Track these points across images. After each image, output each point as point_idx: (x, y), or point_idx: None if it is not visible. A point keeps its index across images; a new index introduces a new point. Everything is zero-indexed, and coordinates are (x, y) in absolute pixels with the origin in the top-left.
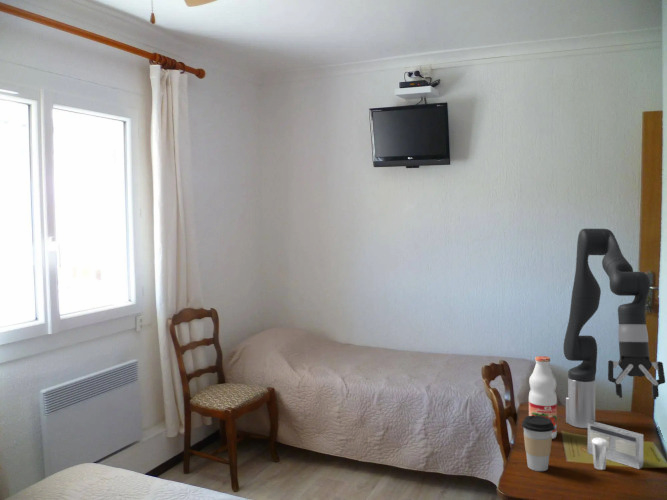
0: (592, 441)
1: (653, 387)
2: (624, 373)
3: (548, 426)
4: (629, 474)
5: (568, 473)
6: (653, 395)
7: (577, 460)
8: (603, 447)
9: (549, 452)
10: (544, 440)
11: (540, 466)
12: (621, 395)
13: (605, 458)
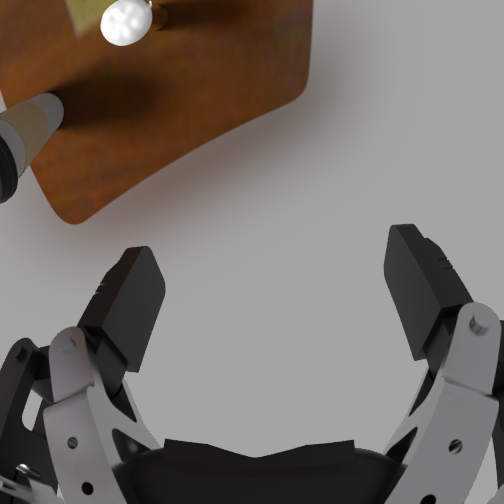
0: (104, 36)
1: (415, 347)
2: (97, 450)
3: (6, 182)
4: (232, 16)
5: (101, 97)
6: (392, 292)
7: (97, 14)
8: (143, 36)
9: (45, 128)
10: (25, 168)
11: (53, 132)
12: (158, 300)
13: (160, 23)
